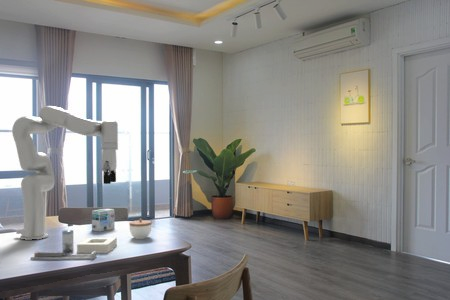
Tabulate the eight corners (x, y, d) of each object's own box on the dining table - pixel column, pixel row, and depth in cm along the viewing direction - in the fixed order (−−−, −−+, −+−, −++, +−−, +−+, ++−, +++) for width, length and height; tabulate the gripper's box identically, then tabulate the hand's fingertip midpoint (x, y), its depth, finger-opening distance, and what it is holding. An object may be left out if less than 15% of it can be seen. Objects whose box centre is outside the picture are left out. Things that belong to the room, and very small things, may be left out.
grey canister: (60, 253, 169) (60, 231, 169) (64, 250, 173) (64, 229, 173) (71, 253, 169) (70, 231, 169) (75, 250, 173) (75, 229, 173)
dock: (77, 252, 170) (77, 244, 170) (88, 245, 183) (88, 237, 183) (107, 252, 170) (107, 244, 170) (116, 245, 182) (116, 237, 182)
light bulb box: (99, 231, 213) (99, 211, 213) (91, 230, 216) (91, 210, 216) (115, 228, 222) (115, 208, 222) (106, 227, 226) (106, 208, 226)
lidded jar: (124, 239, 195) (124, 219, 195) (137, 234, 205) (137, 216, 205) (143, 241, 191) (143, 221, 191) (155, 236, 201) (155, 217, 201)
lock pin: (34, 259, 160) (34, 253, 160) (36, 257, 162) (36, 251, 162) (61, 258, 160) (61, 252, 160) (63, 257, 162) (63, 251, 162)
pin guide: (30, 259, 159) (30, 253, 159) (35, 257, 163) (35, 251, 163) (93, 259, 159) (92, 253, 159) (96, 256, 163) (96, 250, 163)
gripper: (106, 146, 199) (106, 181, 199) (96, 146, 182) (96, 184, 182) (121, 146, 199) (122, 181, 199) (112, 146, 182) (113, 184, 182)
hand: (109, 182), depth 191 cm, fingers open, 9 cm apart
